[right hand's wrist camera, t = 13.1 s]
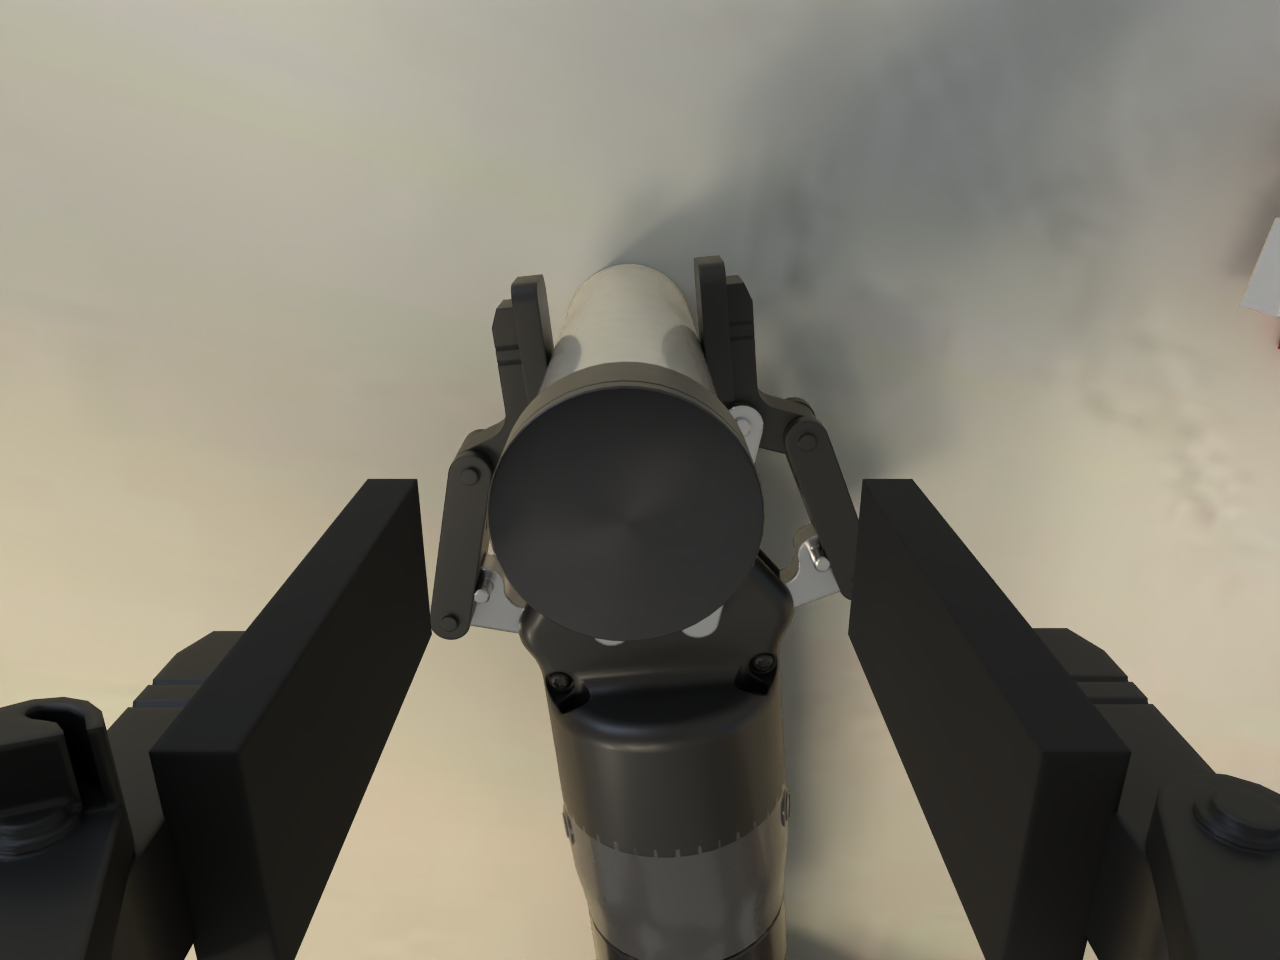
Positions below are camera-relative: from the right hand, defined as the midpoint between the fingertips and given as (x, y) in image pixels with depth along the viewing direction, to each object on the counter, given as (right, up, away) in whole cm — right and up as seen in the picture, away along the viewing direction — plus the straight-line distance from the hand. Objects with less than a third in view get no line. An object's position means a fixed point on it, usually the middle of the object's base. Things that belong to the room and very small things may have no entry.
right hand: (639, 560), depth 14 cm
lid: (0, +1, +2) cm, 2 cm away
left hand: (-1, +7, +10) cm, 12 cm away
